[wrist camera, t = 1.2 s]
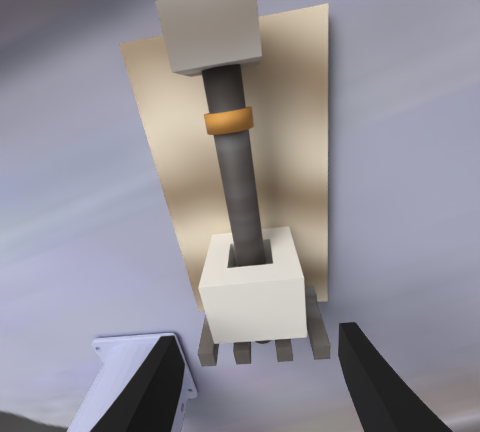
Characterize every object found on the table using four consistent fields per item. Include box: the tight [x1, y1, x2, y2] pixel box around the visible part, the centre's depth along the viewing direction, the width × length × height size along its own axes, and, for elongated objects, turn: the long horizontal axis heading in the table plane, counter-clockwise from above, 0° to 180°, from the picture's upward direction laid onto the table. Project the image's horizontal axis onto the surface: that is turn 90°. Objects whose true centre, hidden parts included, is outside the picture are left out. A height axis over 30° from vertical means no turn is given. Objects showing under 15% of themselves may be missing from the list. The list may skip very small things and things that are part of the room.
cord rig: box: [119, 0, 330, 366], centre depth 14 cm, size 18×10×6 cm, turn 8°
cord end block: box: [198, 226, 307, 344], centre depth 15 cm, size 4×5×5 cm
